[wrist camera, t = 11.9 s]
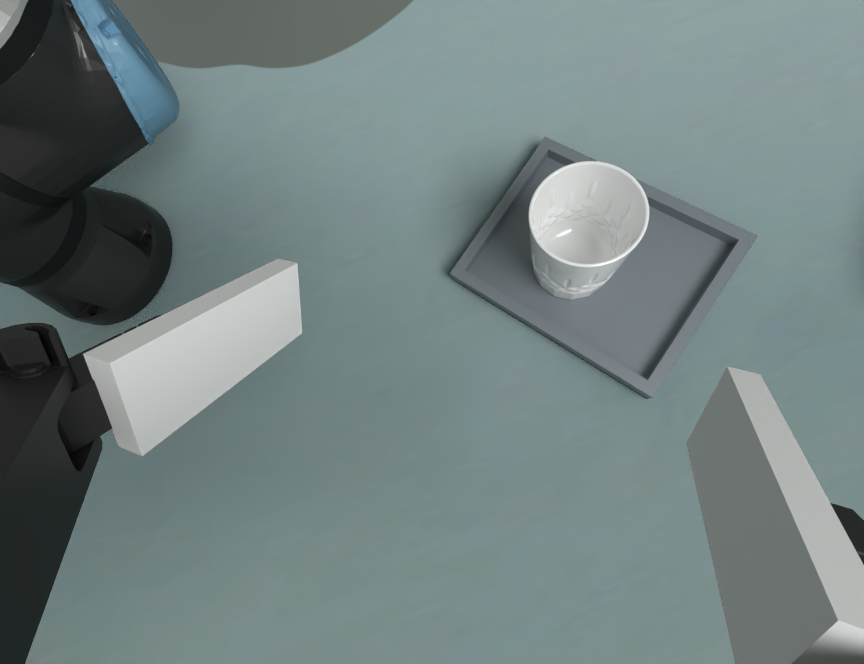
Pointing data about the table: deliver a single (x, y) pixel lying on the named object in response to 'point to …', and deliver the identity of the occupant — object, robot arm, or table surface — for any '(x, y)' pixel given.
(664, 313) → the tray
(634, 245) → the white cup
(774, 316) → the table surface
